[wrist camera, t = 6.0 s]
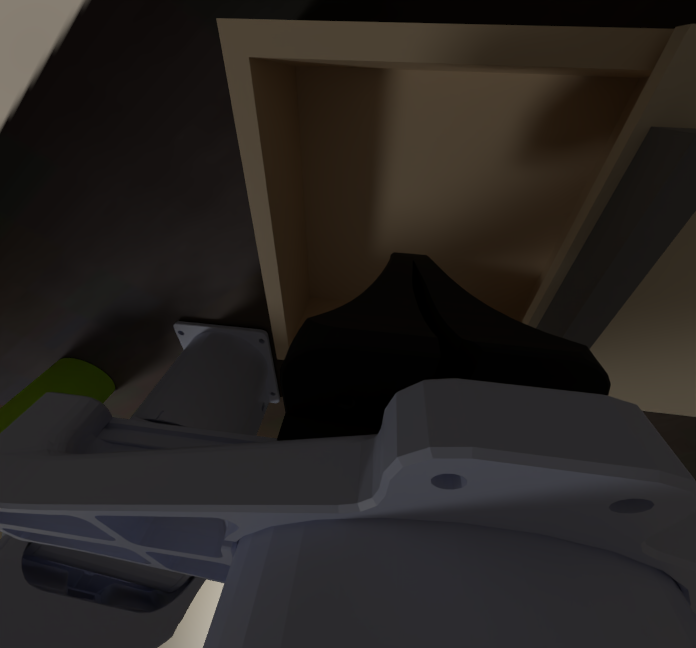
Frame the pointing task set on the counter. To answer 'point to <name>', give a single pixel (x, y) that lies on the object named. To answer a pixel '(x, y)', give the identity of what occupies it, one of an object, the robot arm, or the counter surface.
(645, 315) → the carton lid
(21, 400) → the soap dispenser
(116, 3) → the counter surface
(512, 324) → the robot arm
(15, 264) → the counter surface
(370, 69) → the carton
